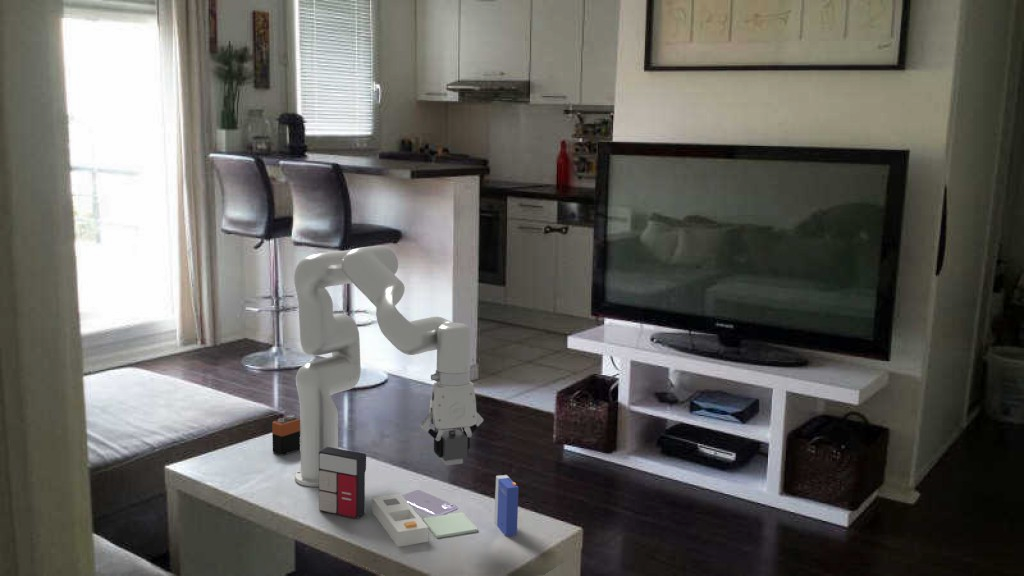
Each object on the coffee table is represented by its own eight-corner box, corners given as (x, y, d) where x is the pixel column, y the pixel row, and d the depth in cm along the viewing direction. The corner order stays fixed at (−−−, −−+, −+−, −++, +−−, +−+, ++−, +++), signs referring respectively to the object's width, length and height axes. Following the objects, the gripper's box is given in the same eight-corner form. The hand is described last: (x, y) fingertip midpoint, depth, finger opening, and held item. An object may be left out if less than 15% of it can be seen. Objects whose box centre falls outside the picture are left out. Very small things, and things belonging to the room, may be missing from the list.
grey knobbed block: (436, 459, 211) (436, 427, 210) (458, 456, 213) (458, 425, 212) (444, 467, 206) (445, 435, 205) (467, 464, 208) (467, 432, 207)
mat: (422, 520, 215) (422, 518, 215) (461, 514, 219) (461, 512, 219) (436, 538, 206) (437, 535, 206) (477, 531, 210) (477, 528, 210)
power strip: (372, 511, 219) (372, 495, 218) (400, 507, 222) (400, 491, 221) (397, 546, 201) (398, 529, 200) (427, 541, 204) (428, 524, 203)
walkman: (517, 535, 209) (518, 485, 207) (505, 536, 208) (507, 486, 206) (505, 521, 216) (506, 473, 214) (494, 522, 215) (495, 474, 213)
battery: (301, 449, 259) (300, 415, 257) (282, 456, 253) (281, 421, 251) (290, 446, 261) (290, 412, 259) (271, 452, 256) (271, 418, 254)
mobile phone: (418, 488, 232) (459, 505, 223) (418, 491, 233) (459, 509, 223) (395, 496, 227) (436, 514, 217) (395, 500, 227) (436, 518, 217)
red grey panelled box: (316, 511, 218) (316, 452, 215) (326, 505, 222) (326, 446, 219) (356, 520, 214) (356, 459, 211) (366, 513, 218) (366, 453, 215)
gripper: (422, 385, 199) (421, 464, 202) (494, 378, 207) (492, 454, 210) (411, 376, 206) (410, 453, 209) (481, 370, 213) (479, 444, 216)
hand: (451, 453), depth 209 cm, fingers closed on grey knobbed block, 5 cm apart
